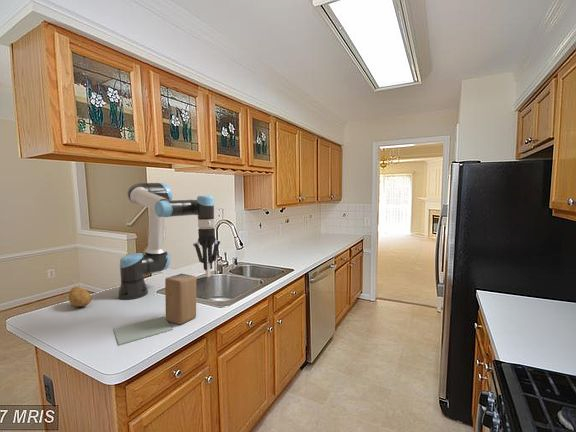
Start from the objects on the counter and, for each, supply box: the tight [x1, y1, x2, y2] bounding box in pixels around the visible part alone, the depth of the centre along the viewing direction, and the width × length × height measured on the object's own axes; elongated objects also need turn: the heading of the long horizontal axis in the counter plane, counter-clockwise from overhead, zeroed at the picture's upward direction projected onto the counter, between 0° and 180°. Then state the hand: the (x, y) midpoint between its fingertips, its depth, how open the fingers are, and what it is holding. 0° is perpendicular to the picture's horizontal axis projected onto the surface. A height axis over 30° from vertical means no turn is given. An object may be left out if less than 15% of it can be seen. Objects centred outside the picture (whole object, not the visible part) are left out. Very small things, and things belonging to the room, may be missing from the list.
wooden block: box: [164, 273, 197, 325], centre depth 131 cm, size 10×10×20 cm
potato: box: [68, 286, 92, 308], centre depth 148 cm, size 9×16×9 cm, turn 48°
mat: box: [113, 316, 174, 346], centre depth 122 cm, size 16×20×1 cm
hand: (208, 276), depth 138 cm, fingers closed
